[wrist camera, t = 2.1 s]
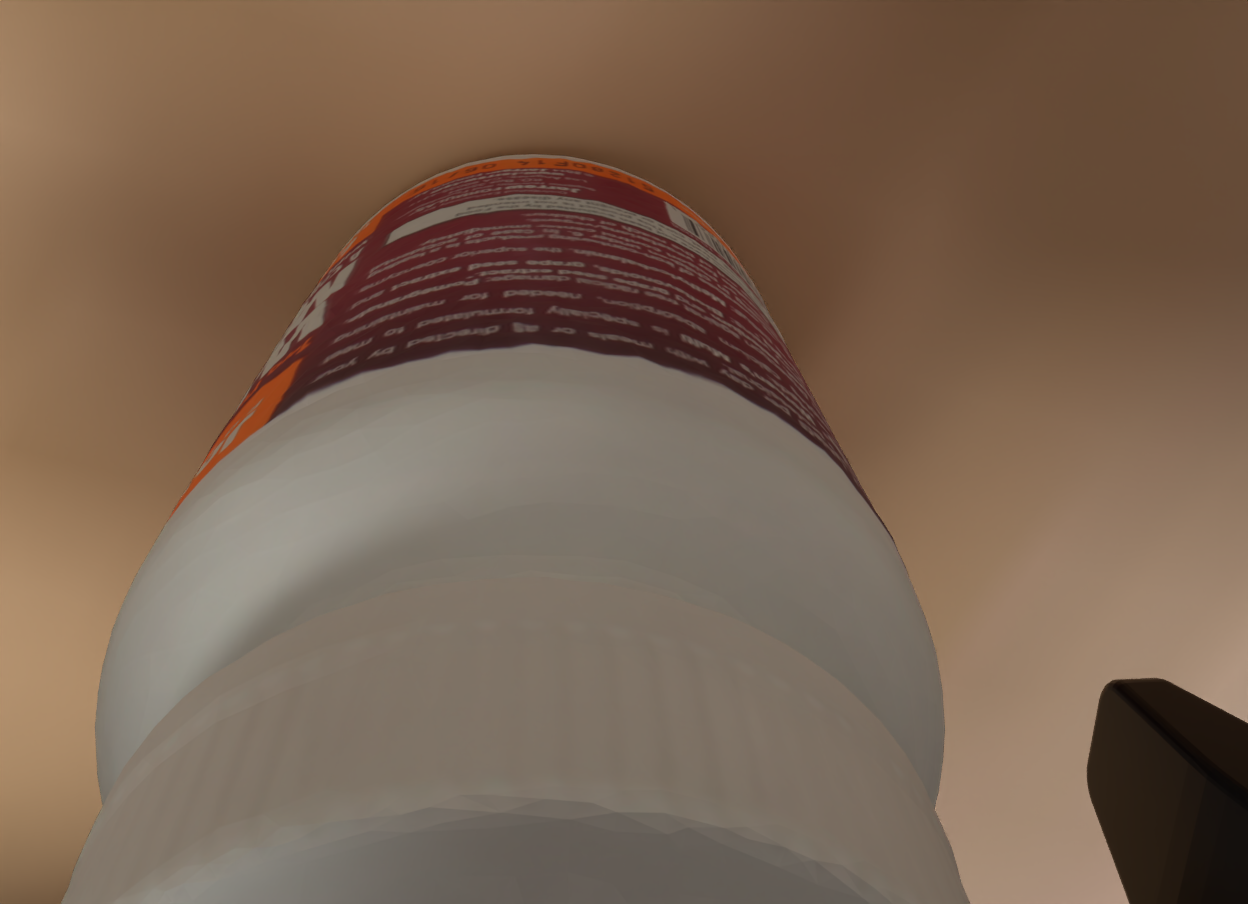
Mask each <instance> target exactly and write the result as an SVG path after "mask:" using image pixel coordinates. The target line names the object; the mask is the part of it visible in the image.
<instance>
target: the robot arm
mask: <svg viewBox="0 0 1248 904" xmlns="http://www.w3.org/2000/svg"><path fill="white" fill-rule="evenodd" d="M1087 783H1088V790H1089V794H1090V798H1091V801H1092V804H1093V806H1094V809H1095V812H1096V815H1097V817H1098V820H1099V823H1100V825H1101V828H1102V831H1103V833H1104V836H1105V839H1106V842H1107V844H1108V847H1109V850H1110V852H1111V855H1112V858H1113V860H1114V863H1115V866H1116V869H1117V871H1118V874H1119V877H1120V879H1121V882H1122V885H1123V888H1124V890H1125V893H1126V896H1127V898H1128V901H1129V904H1248V723H1246V722H1245V721H1243V720H1241V719H1239V718H1237V717H1235V716H1233V715H1231V714H1229V713H1227V712H1226V711H1224V710H1222V709H1220V708H1218V707H1216V706H1214V705H1212V704H1210V703H1208V702H1207V701H1205V700H1203V699H1201V698H1199V697H1197V696H1195V695H1193V694H1191V693H1189V692H1188V691H1186V690H1184V689H1182V688H1180V687H1178V686H1176V685H1174V684H1172V683H1170V682H1169V681H1166V680H1164V679H1159V678H1142V679H1118V680H1113V681H1111V682H1110V683H1108V684H1107V685H1106V686H1105V687H1104V689H1103V691H1102V693H1101V696H1100V699H1099V704H1098V710H1097V715H1096V720H1095V726H1094V731H1093V736H1092V742H1091V747H1090V753H1089V758H1088V764H1087Z"/></svg>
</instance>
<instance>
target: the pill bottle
mask: <svg viewBox="0 0 1248 904" xmlns="http://www.w3.org/2000/svg"><path fill="white" fill-rule="evenodd" d="M944 734H945V725H944V708H943V692H942V685H941V679H940V673H939V667H938V661H937V655H936V651H935V647H934V644H933V641H932V637H931V634H930V630H929V627H928V624H927V621H926V618H925V616H924V613H923V611H922V608H921V606H920V603H919V601H918V598H917V595H916V593H915V590H914V588H913V585H912V583H911V581H910V579H909V576H908V573H907V570H906V567H905V565H904V563H903V561H902V559H901V557H900V555H899V552H898V550H897V547H896V545H895V542H894V540H893V537H892V536H891V534H890V533H889V531H888V530H887V528H886V526H885V525H884V523H883V522H882V520H881V518H880V517H879V516H878V514H877V513H876V512H875V510H874V508H873V506H872V504H871V502H870V500H869V499H868V497H867V495H866V494H865V492H864V490H863V488H862V487H861V485H860V483H859V481H858V479H857V477H856V475H855V473H854V471H853V469H852V468H851V466H850V464H849V462H848V460H847V458H846V456H845V455H844V453H843V451H842V449H841V448H840V446H839V444H838V442H837V440H836V439H835V437H834V435H833V433H832V431H831V429H830V427H829V425H828V423H827V422H826V420H825V418H824V416H823V414H822V412H821V410H820V408H819V406H818V404H817V402H816V401H815V399H814V397H813V395H812V393H811V391H810V390H809V388H808V386H807V384H806V382H805V380H804V379H803V377H802V375H801V373H800V371H799V369H798V368H797V366H796V364H795V362H794V360H793V358H792V356H791V354H790V352H789V350H788V348H787V346H786V344H785V342H784V339H783V337H782V335H781V333H780V331H779V330H778V328H777V326H776V324H775V323H774V321H773V320H772V318H771V316H770V314H769V312H768V310H767V308H766V305H765V303H764V301H763V299H762V297H761V295H760V293H759V292H758V290H757V288H756V287H755V285H754V283H753V281H752V280H751V279H750V277H749V275H748V274H747V272H746V270H745V269H744V267H743V266H742V264H741V263H740V261H739V260H738V258H737V257H736V256H735V254H734V253H733V251H732V250H731V249H730V248H729V246H728V245H727V244H726V243H725V241H724V240H723V239H722V238H721V237H720V235H719V234H718V233H717V232H716V231H715V230H714V229H713V228H712V227H711V226H710V225H709V224H708V223H707V222H706V221H705V220H704V219H703V218H701V217H700V216H699V215H698V214H697V213H696V212H694V211H693V210H692V209H691V208H690V207H688V206H687V205H686V204H684V203H683V202H681V201H680V200H678V199H677V198H676V197H674V196H673V195H671V194H670V193H668V192H667V191H665V190H663V189H661V188H660V187H658V186H656V185H654V184H652V183H651V182H649V181H647V180H644V179H642V178H640V177H637V176H635V175H633V174H630V173H628V172H625V171H623V170H621V169H618V168H615V167H612V166H609V165H606V164H601V163H597V162H593V161H589V160H585V159H580V158H575V157H569V156H561V155H541V154H527V155H507V156H500V157H495V158H490V159H485V160H480V161H475V162H470V163H466V164H463V165H460V166H458V167H455V168H452V169H449V170H447V171H444V172H441V173H438V174H436V175H434V176H432V177H430V178H428V179H426V180H424V181H422V182H420V183H418V184H417V185H415V186H413V187H412V188H410V189H408V190H407V191H405V192H404V193H402V194H400V195H399V196H398V197H396V198H395V199H393V200H392V201H390V202H389V203H388V204H386V205H385V206H384V207H383V208H381V209H380V210H379V211H378V212H377V213H376V214H375V215H373V216H372V217H371V218H370V219H369V220H368V221H367V222H366V223H365V224H364V225H363V226H362V227H361V228H360V229H359V230H358V231H357V232H356V233H355V234H354V236H353V237H352V238H351V239H350V240H349V241H348V243H347V244H346V245H345V246H344V247H343V249H342V250H341V251H340V253H339V254H338V255H337V257H336V258H335V259H334V261H333V262H332V264H331V265H330V267H329V268H328V269H327V271H326V272H325V274H324V275H323V276H322V278H321V279H320V281H319V282H318V284H317V286H316V287H315V289H314V290H313V291H312V293H311V294H310V295H309V297H308V298H307V299H306V301H305V302H304V303H303V305H302V307H301V308H300V310H299V312H298V313H297V315H296V316H295V318H294V319H293V321H292V322H291V324H290V325H289V327H288V328H287V330H286V332H285V333H284V335H283V337H282V338H281V340H280V342H279V343H278V344H277V346H276V347H275V349H274V351H273V353H272V354H271V356H270V358H269V359H268V361H267V362H266V364H265V365H264V366H263V368H262V369H261V371H260V372H259V374H258V375H257V377H256V378H255V380H254V382H253V383H252V385H251V387H250V388H249V390H248V391H247V393H246V394H245V396H244V397H243V399H242V400H241V402H240V404H239V406H238V408H237V409H236V411H235V413H234V414H233V416H232V418H231V419H230V420H229V422H228V423H227V425H226V426H225V427H224V429H223V430H222V432H221V433H220V435H219V436H218V438H217V439H216V441H215V442H214V444H213V445H212V447H211V449H210V451H209V453H208V455H207V456H206V458H205V460H204V462H203V464H202V465H201V467H200V469H199V470H198V472H197V473H196V475H195V476H194V478H193V479H192V481H191V483H190V484H189V486H188V487H187V489H186V491H185V492H184V494H183V495H182V497H181V499H180V500H179V502H178V503H177V505H176V507H175V508H174V510H173V512H172V514H171V516H170V518H169V519H168V521H167V523H166V524H165V526H164V528H163V530H162V531H161V533H160V535H159V536H158V538H157V540H156V542H155V543H154V545H153V547H152V548H151V550H150V552H149V554H148V555H147V557H146V559H145V560H144V562H143V564H142V566H141V567H140V569H139V571H138V573H137V575H136V576H135V578H134V580H133V582H132V584H131V587H130V589H129V591H128V593H127V595H126V598H125V600H124V602H123V604H122V607H121V609H120V612H119V614H118V617H117V619H116V622H115V624H114V627H113V629H112V633H111V637H110V641H109V644H108V648H107V652H106V656H105V659H104V663H103V667H102V673H101V679H100V684H99V690H98V700H97V711H96V722H95V737H96V756H97V775H98V781H99V787H100V793H101V799H102V805H103V806H102V808H101V810H100V812H99V815H98V817H97V819H96V821H95V823H94V825H93V827H92V829H91V831H90V834H89V836H88V838H87V840H86V843H85V845H84V847H83V849H82V852H81V854H80V856H79V858H78V861H77V863H76V865H75V867H74V870H73V874H72V877H71V881H70V884H69V887H68V889H67V891H66V893H65V896H64V898H63V900H62V902H61V904H970V902H969V900H968V897H967V895H966V893H965V890H964V888H963V885H962V883H961V879H960V876H959V872H958V868H957V865H956V861H955V858H954V854H953V850H952V847H951V845H950V843H949V840H948V838H947V836H946V834H945V832H944V829H943V827H942V825H941V823H940V820H939V818H938V816H937V814H936V811H935V809H934V808H935V804H936V800H937V796H938V791H939V785H940V778H941V770H942V763H943V752H944Z"/></svg>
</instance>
